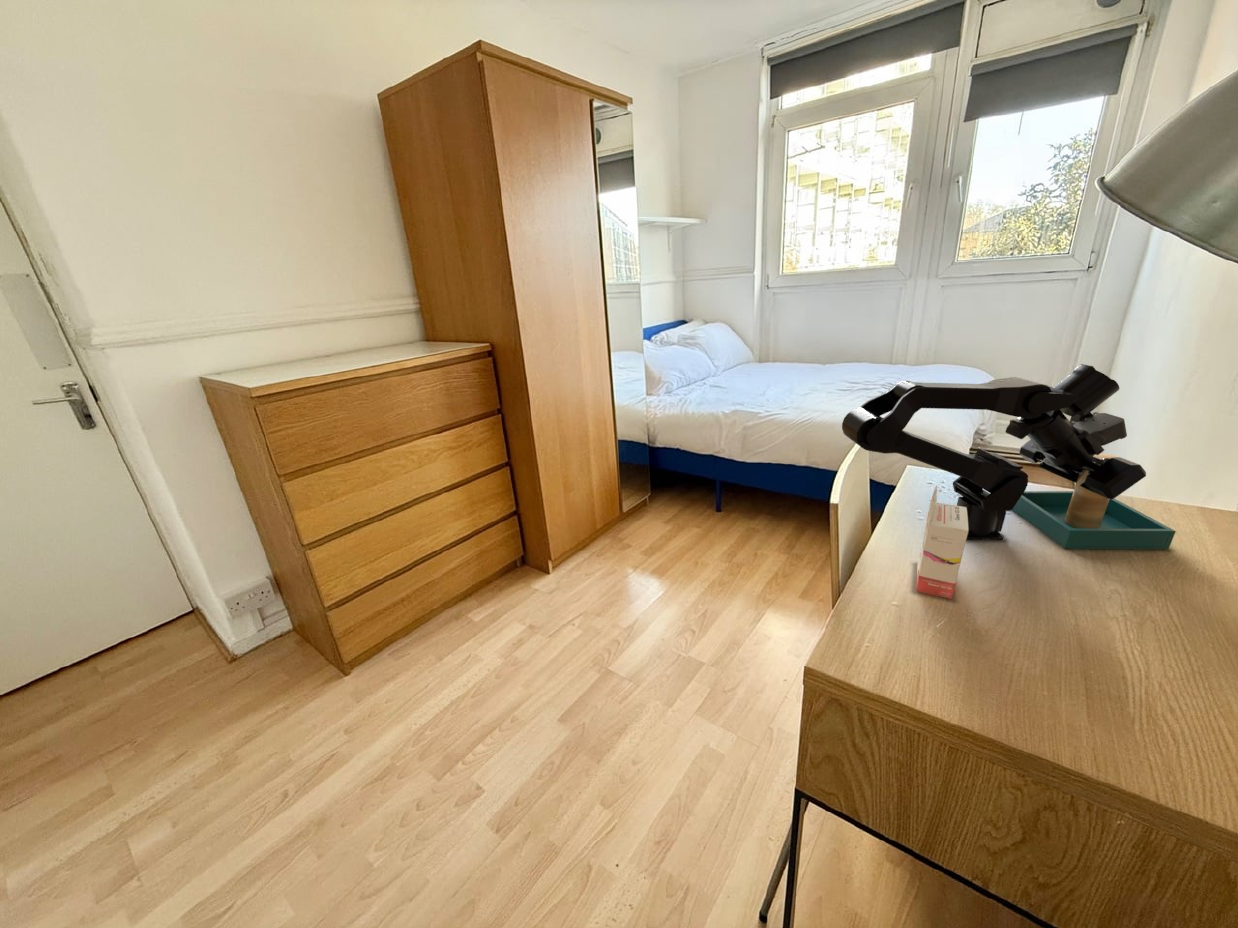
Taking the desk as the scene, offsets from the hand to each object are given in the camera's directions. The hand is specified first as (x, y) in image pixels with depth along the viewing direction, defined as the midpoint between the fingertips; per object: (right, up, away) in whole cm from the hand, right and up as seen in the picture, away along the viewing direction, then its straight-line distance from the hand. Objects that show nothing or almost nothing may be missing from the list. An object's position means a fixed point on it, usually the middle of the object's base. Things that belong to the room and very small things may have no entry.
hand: (1100, 490), depth 87 cm
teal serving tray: (-1, -7, +3) cm, 7 cm away
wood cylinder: (-1, -6, +2) cm, 7 cm away
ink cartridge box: (-36, -14, -10) cm, 40 cm away
